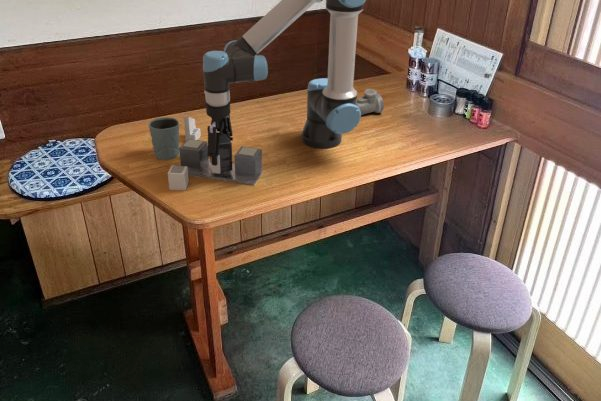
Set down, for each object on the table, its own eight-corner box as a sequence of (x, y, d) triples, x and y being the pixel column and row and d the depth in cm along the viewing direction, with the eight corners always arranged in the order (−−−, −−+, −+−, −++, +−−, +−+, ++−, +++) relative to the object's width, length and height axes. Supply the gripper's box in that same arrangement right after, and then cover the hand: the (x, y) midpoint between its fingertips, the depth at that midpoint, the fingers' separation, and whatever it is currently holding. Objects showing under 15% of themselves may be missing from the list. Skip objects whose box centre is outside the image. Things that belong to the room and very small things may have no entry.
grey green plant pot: (146, 157, 194) (142, 126, 187) (162, 145, 202) (159, 114, 195) (172, 163, 191) (168, 131, 184) (187, 150, 199) (184, 119, 192)
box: (210, 162, 187) (208, 133, 181) (226, 160, 189) (224, 131, 183) (216, 173, 181) (214, 144, 175) (233, 170, 183) (231, 141, 177)
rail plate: (263, 170, 188) (263, 145, 183) (254, 185, 180) (253, 159, 175) (191, 160, 193) (189, 135, 188) (179, 174, 185) (176, 148, 179)
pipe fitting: (375, 106, 236) (376, 84, 229) (384, 115, 230) (385, 93, 223) (349, 113, 233) (349, 91, 226) (358, 122, 227) (358, 100, 220)
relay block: (188, 182, 180) (187, 165, 177) (185, 190, 176) (183, 173, 173) (173, 181, 180) (171, 164, 177) (169, 189, 176) (167, 172, 173)
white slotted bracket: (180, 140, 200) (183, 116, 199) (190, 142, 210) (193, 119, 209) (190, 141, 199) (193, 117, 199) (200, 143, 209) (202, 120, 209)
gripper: (219, 88, 182) (222, 149, 195) (192, 114, 164) (198, 179, 176) (240, 90, 181) (243, 152, 193) (216, 117, 163) (220, 183, 175)
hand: (221, 165), depth 185 cm, fingers closed on box, 9 cm apart
